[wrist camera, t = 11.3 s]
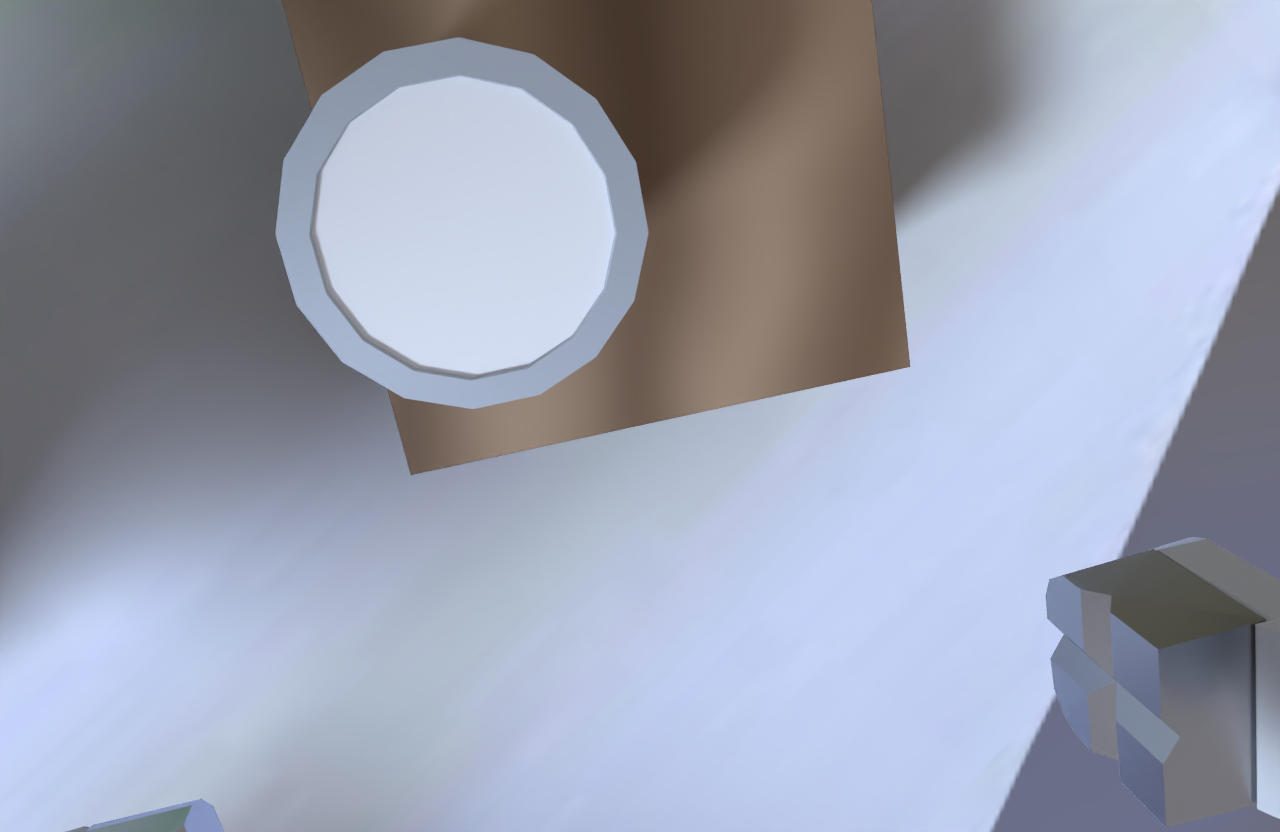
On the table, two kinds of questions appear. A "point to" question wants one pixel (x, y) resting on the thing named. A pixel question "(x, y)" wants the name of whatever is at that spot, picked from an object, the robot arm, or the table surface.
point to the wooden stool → (686, 199)
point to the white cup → (461, 223)
